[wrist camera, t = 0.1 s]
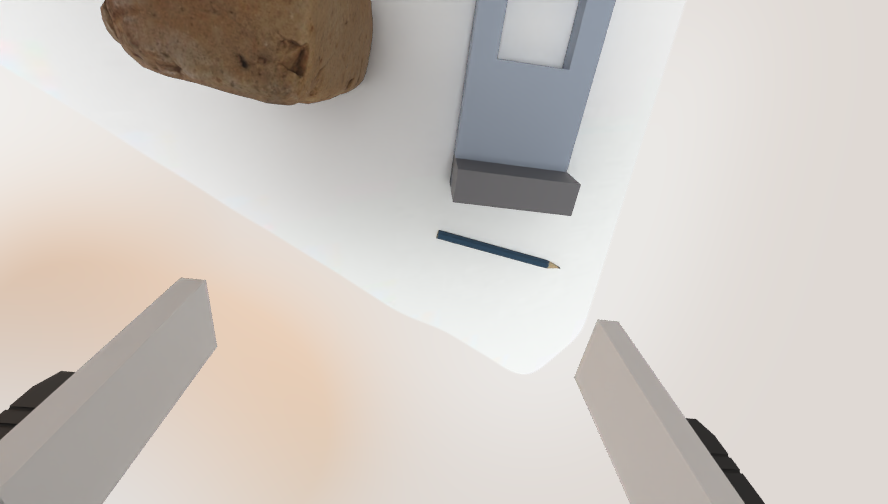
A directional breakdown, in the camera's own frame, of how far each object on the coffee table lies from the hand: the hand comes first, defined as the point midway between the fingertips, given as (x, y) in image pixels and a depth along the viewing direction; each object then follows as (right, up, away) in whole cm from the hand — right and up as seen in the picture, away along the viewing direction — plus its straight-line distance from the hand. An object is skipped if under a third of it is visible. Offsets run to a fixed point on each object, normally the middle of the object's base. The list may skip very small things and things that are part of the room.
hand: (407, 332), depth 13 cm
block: (-10, +22, +20) cm, 31 cm away
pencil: (+8, +3, +31) cm, 32 cm away
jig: (+9, +19, +22) cm, 30 cm away
